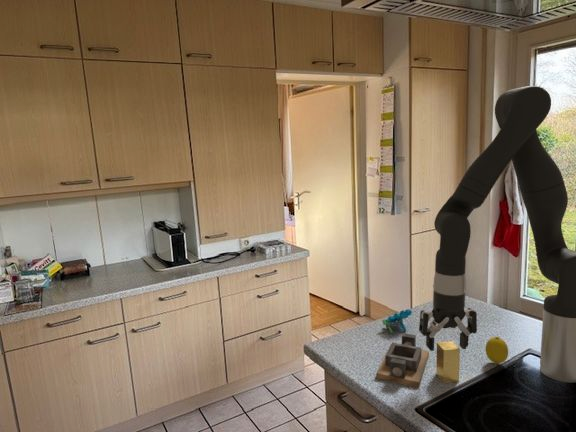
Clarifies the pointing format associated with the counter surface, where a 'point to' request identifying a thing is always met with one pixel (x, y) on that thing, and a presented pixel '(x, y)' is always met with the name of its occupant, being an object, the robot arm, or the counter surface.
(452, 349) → the block
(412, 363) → the shaft rig
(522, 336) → the counter surface
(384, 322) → the blue-green animal figure
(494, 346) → the lemon
